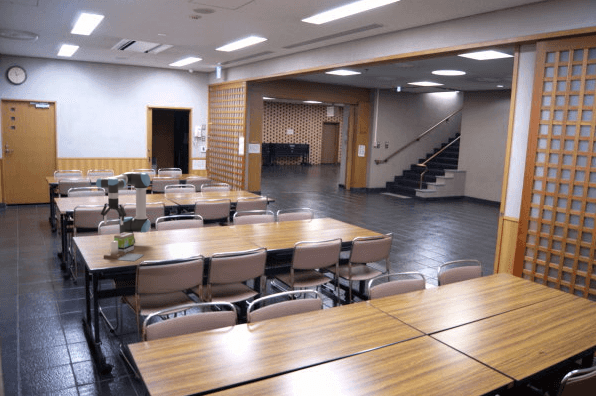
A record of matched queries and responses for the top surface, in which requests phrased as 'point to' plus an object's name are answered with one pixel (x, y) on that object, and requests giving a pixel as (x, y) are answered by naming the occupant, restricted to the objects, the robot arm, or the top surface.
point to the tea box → (125, 241)
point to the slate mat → (130, 257)
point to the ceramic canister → (114, 247)
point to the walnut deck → (114, 255)
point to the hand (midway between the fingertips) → (113, 224)
